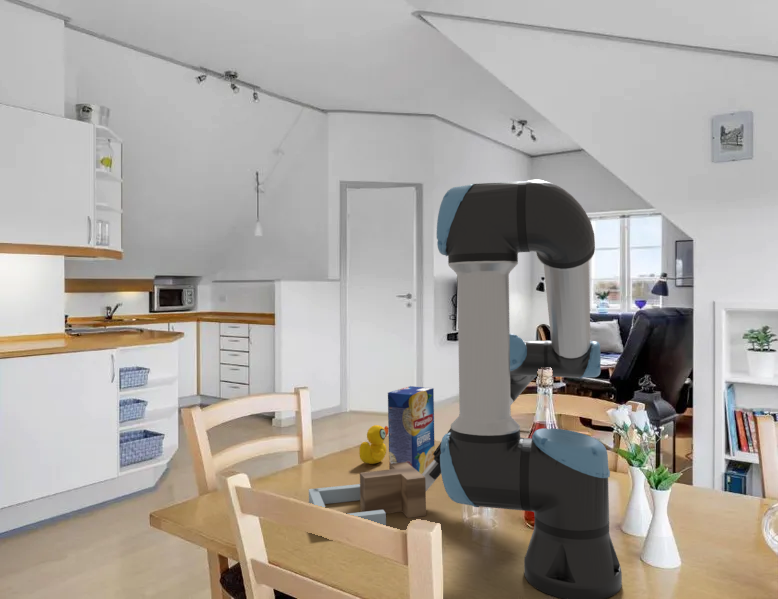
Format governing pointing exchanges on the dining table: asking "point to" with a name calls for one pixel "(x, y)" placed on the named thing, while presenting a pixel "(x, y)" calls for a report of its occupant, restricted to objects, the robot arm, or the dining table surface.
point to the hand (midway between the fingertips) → (420, 487)
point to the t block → (394, 490)
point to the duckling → (374, 445)
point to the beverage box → (411, 426)
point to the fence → (344, 500)
